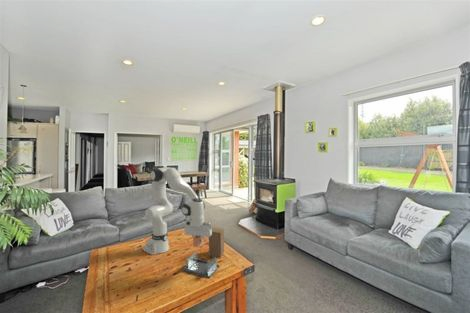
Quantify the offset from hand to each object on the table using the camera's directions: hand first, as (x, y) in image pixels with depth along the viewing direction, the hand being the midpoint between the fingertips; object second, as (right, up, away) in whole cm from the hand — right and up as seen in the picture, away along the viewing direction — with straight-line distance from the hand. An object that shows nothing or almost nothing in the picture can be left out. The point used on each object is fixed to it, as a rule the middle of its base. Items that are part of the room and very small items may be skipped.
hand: (198, 241), depth 145 cm
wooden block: (+11, -20, +22) cm, 32 cm away
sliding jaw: (-5, -18, +4) cm, 20 cm away
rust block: (0, -2, 0) cm, 2 cm away
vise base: (+2, -20, +1) cm, 20 cm away
